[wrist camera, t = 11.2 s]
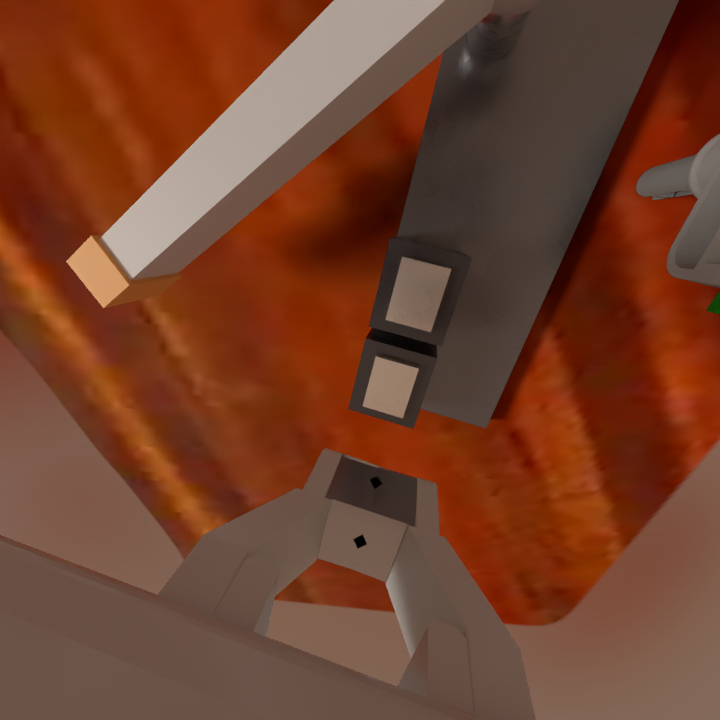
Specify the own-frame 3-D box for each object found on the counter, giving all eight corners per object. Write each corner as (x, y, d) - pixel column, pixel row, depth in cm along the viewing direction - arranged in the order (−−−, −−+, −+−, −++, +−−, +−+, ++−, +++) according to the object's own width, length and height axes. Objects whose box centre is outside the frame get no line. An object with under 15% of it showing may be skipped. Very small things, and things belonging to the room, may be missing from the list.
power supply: (396, 236, 19) (389, 237, 16) (465, 253, 19) (473, 258, 15) (377, 312, 21) (367, 328, 17) (439, 329, 21) (441, 349, 17)
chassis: (479, -80, 15) (505, -244, 10) (689, -48, 14) (838, -210, 9) (361, 382, 24) (342, 423, 19) (483, 419, 23) (498, 471, 18)
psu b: (375, 322, 21) (364, 340, 18) (436, 339, 21) (437, 361, 17) (359, 385, 23) (346, 412, 19) (415, 401, 23) (412, 432, 19)
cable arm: (553, -169, 10) (610, -352, 7) (599, -41, 11) (669, -154, 8) (122, 246, 18) (56, 249, 14) (166, 304, 18) (112, 319, 15)
